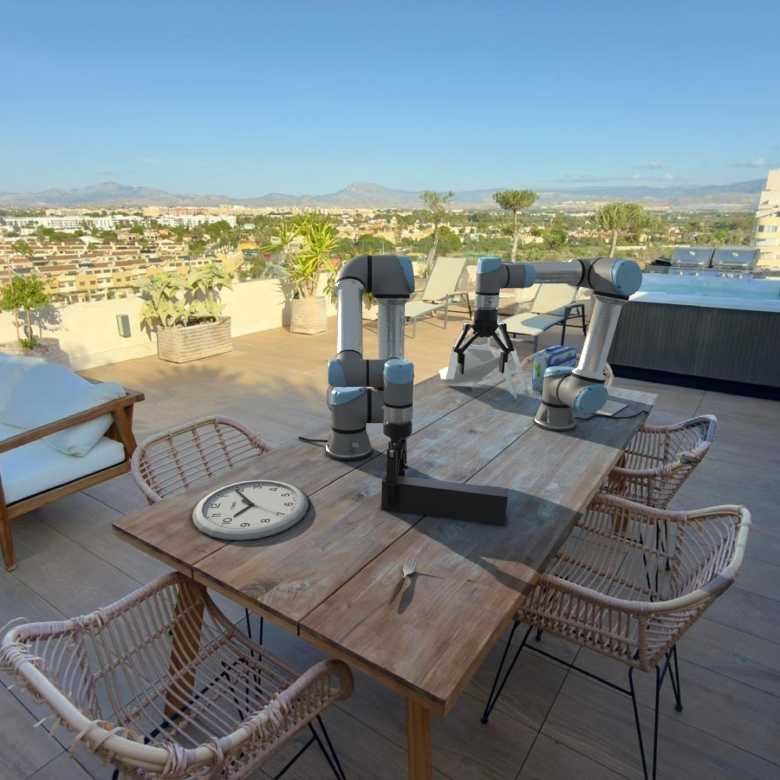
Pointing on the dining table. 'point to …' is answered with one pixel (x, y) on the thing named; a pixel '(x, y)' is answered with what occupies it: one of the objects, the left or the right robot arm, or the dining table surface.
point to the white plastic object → (482, 365)
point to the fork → (407, 571)
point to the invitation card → (611, 408)
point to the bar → (449, 500)
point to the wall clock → (250, 510)
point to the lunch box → (551, 363)
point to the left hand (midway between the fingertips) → (396, 498)
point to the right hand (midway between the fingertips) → (481, 372)
